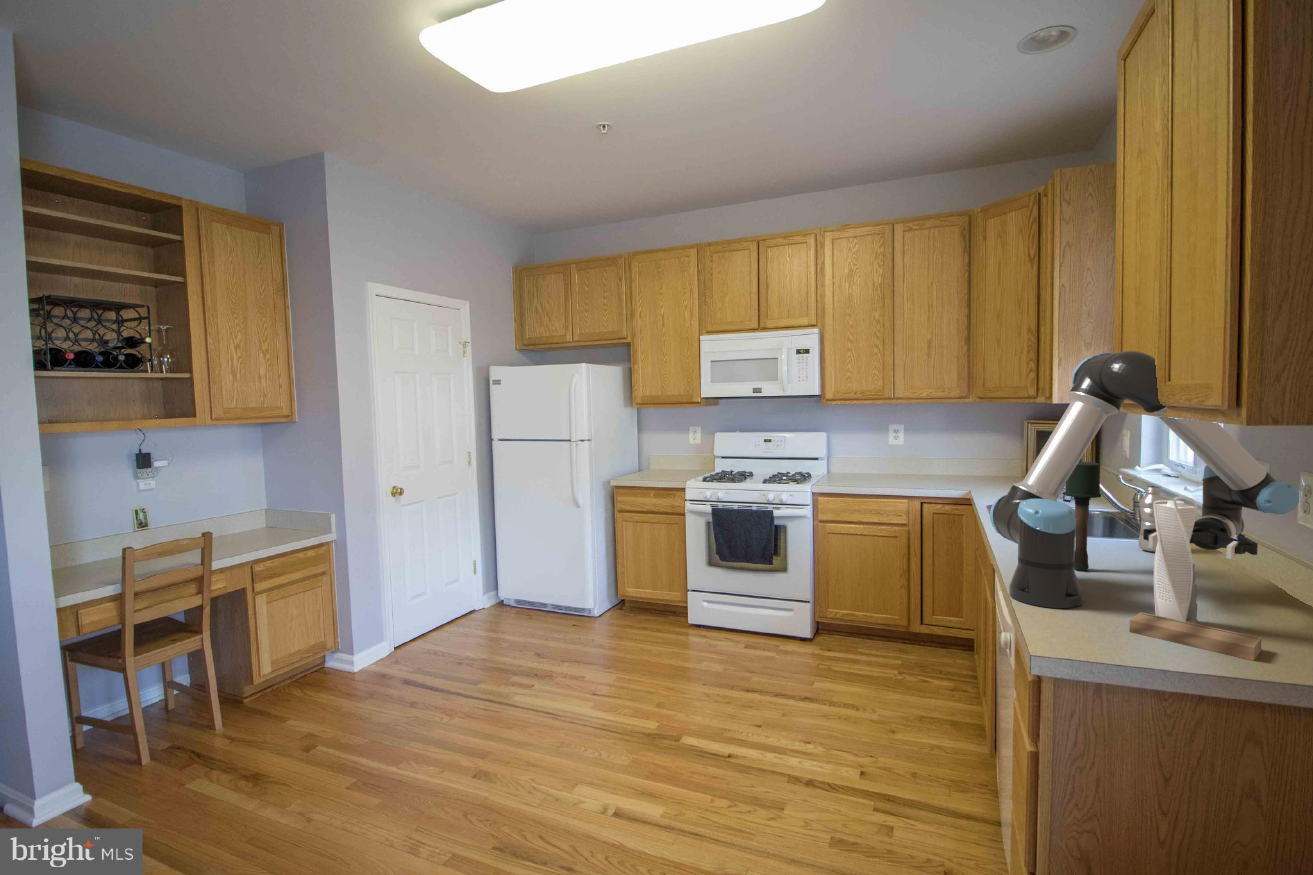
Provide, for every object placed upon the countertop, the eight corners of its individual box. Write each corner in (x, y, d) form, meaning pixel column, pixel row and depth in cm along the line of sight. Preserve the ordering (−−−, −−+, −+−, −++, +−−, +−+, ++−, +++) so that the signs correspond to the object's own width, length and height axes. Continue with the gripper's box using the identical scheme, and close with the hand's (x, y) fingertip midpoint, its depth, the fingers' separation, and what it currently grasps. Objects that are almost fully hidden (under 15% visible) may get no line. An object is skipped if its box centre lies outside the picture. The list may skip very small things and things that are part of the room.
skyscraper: (1200, 633, 130) (1204, 498, 128) (1150, 625, 134) (1154, 495, 132) (1196, 620, 136) (1201, 492, 134) (1149, 613, 141) (1152, 490, 139)
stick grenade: (1106, 574, 171) (1109, 464, 169) (1074, 574, 171) (1077, 465, 169) (1086, 565, 180) (1088, 461, 177) (1055, 566, 180) (1057, 461, 178)
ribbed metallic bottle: (1163, 555, 188) (1165, 489, 187) (1135, 551, 193) (1137, 486, 192) (1167, 551, 193) (1169, 486, 191) (1140, 547, 198) (1142, 484, 196)
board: (1129, 631, 131) (1129, 619, 131) (1140, 623, 135) (1140, 611, 135) (1253, 660, 116) (1254, 646, 116) (1261, 650, 121) (1261, 637, 120)
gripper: (1282, 556, 144) (1264, 575, 131) (1148, 538, 163) (1120, 553, 150) (1284, 524, 143) (1266, 539, 130) (1148, 510, 163) (1121, 522, 150)
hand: (1188, 546), depth 140 cm, fingers open, 13 cm apart
